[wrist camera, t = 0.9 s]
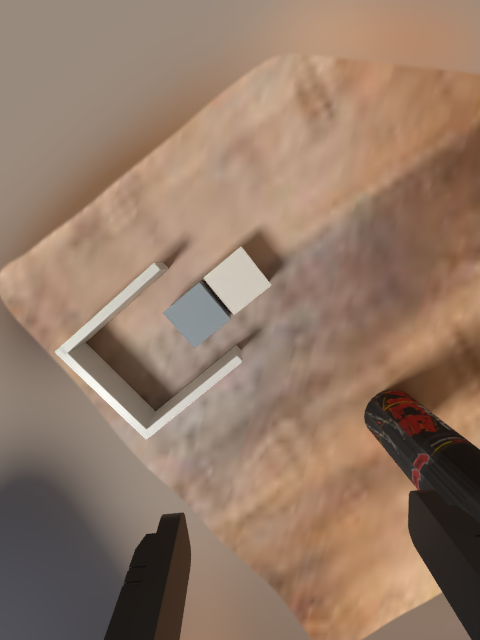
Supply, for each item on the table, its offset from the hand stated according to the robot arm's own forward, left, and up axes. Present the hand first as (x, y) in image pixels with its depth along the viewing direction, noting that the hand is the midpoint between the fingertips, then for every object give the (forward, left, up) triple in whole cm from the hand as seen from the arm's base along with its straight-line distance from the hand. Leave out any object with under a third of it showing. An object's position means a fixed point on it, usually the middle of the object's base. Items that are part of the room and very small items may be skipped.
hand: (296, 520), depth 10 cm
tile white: (-3, -7, -21) cm, 22 cm away
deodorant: (-7, +16, -21) cm, 28 cm away
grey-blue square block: (+2, -7, -21) cm, 22 cm away
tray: (+7, -7, -21) cm, 23 cm away
